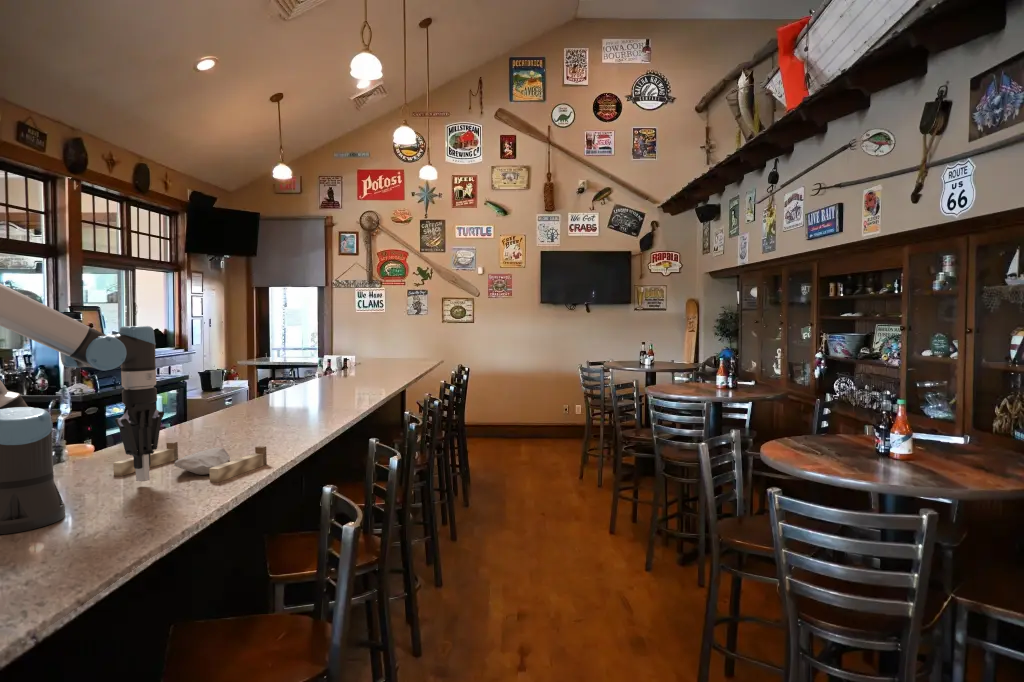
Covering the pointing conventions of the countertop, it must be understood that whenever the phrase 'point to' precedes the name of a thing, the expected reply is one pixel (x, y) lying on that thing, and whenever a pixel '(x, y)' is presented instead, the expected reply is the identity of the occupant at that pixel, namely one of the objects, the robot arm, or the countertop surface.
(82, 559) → the countertop surface
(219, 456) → the stone
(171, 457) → the rails
